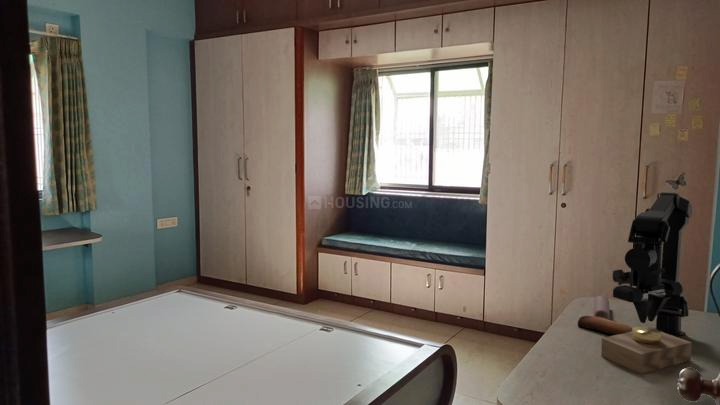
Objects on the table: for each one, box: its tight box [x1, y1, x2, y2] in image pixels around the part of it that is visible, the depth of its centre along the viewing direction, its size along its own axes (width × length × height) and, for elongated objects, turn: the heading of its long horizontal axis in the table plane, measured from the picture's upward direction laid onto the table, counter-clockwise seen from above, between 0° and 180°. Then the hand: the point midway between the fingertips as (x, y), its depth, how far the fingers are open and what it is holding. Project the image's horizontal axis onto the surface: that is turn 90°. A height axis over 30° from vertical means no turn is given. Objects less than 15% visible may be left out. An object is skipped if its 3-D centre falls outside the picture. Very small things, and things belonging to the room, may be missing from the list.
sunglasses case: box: [577, 315, 633, 336], centre depth 153 cm, size 18×7×7 cm
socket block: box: [601, 331, 692, 375], centre depth 134 cm, size 18×12×5 cm, turn 112°
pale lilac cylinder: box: [593, 295, 611, 320], centre depth 169 cm, size 5×5×18 cm
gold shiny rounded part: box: [632, 326, 661, 345], centre depth 134 cm, size 7×7×7 cm
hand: (646, 321), depth 133 cm, fingers open, 3 cm apart
